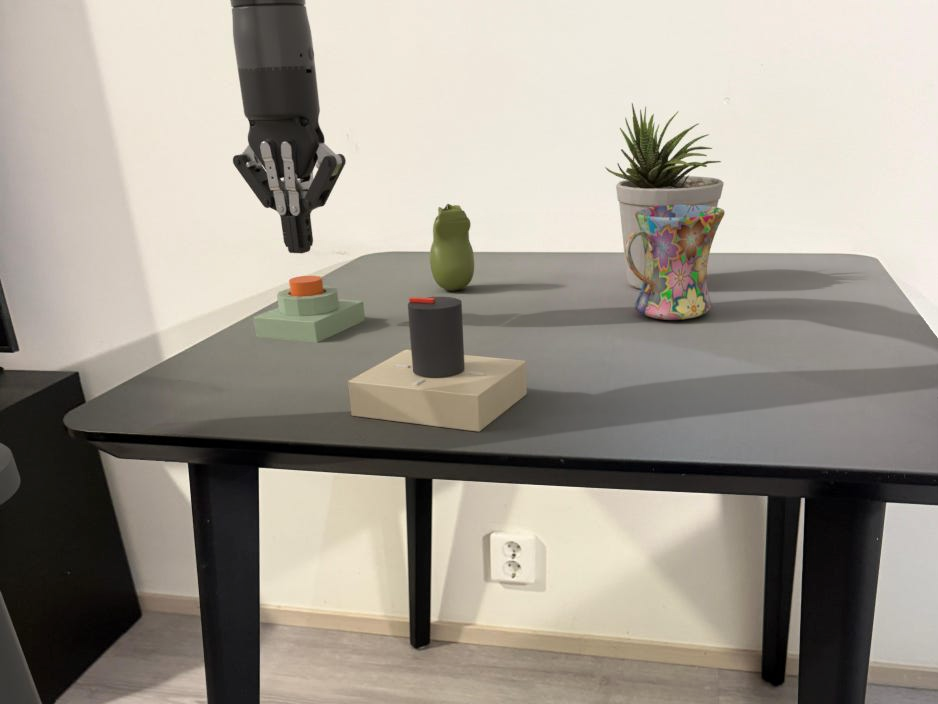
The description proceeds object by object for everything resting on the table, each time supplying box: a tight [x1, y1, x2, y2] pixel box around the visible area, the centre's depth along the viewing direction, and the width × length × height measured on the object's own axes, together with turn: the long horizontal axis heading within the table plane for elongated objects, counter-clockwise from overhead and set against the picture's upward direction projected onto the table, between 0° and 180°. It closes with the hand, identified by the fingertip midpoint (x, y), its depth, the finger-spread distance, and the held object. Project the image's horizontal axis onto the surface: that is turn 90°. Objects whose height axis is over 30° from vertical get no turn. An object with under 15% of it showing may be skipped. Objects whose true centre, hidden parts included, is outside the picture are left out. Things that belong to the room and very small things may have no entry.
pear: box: [429, 203, 475, 292], centre depth 115 cm, size 6×5×10 cm
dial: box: [407, 296, 465, 378], centre depth 77 cm, size 4×4×6 cm
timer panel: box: [347, 349, 528, 433], centre depth 79 cm, size 10×12×3 cm
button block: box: [252, 285, 366, 343], centre depth 103 cm, size 10×8×4 cm
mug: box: [624, 205, 725, 321], centre depth 100 cm, size 12×9×11 cm
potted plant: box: [604, 102, 725, 290], centre depth 111 cm, size 13×14×20 cm
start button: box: [288, 275, 324, 296], centre depth 101 cm, size 4×4×2 cm
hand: (300, 251), depth 99 cm, fingers closed
